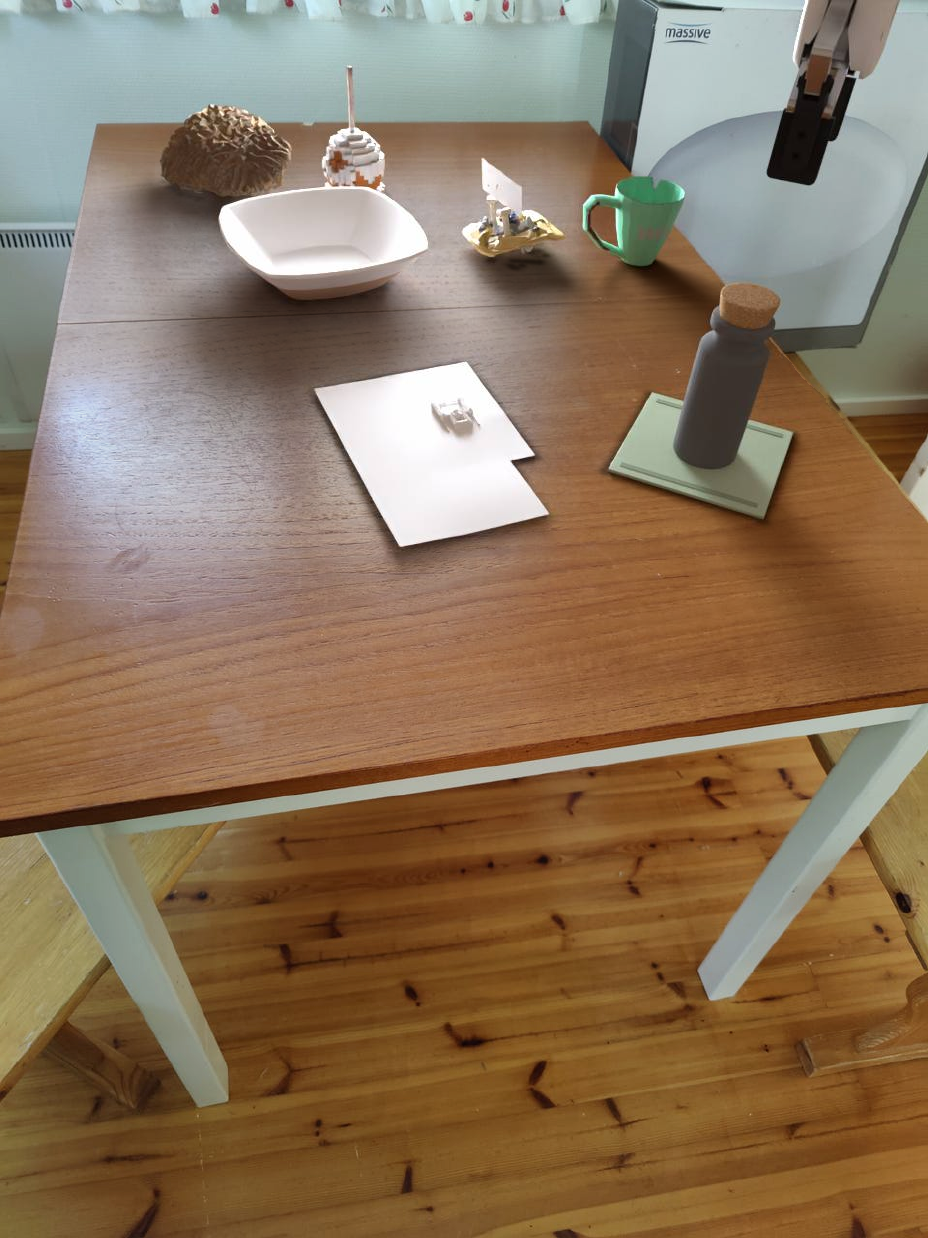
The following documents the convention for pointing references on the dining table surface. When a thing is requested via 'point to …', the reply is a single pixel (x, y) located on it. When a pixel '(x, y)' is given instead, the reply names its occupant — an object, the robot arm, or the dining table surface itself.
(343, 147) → the decorative ornament
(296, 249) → the bowl
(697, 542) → the dining table surface
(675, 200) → the mug
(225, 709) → the dining table surface
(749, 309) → the bottle
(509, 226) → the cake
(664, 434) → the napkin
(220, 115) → the coral
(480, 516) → the paper
